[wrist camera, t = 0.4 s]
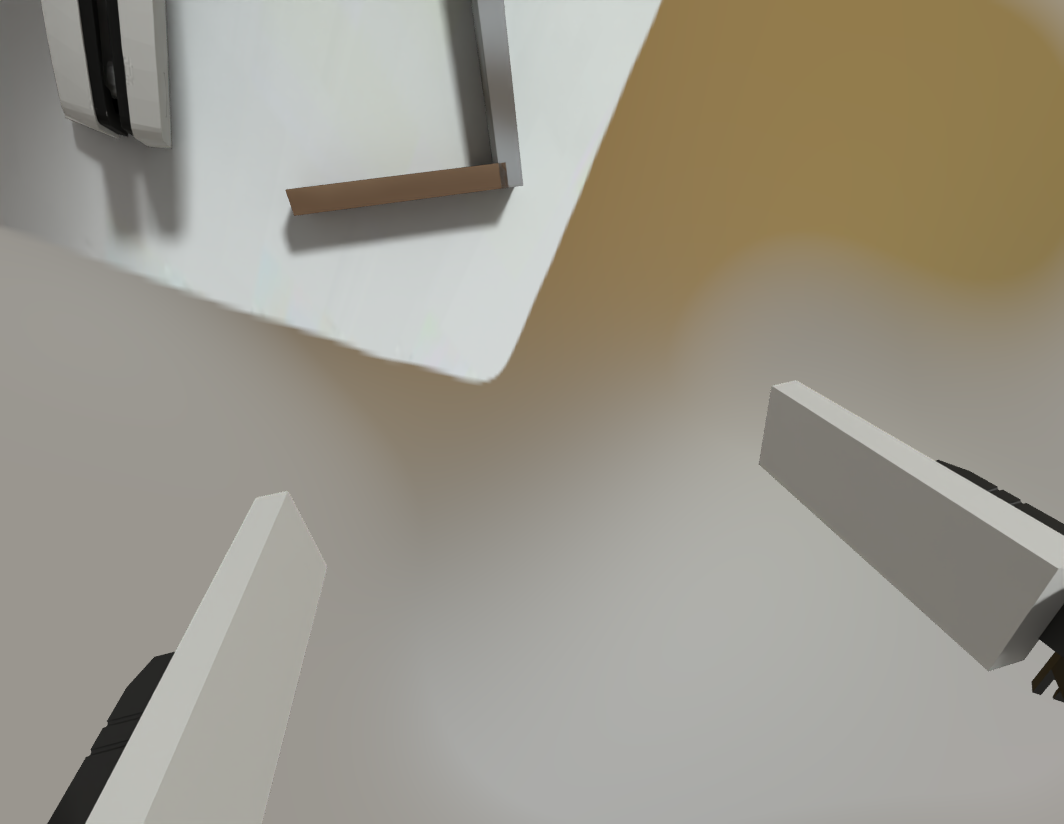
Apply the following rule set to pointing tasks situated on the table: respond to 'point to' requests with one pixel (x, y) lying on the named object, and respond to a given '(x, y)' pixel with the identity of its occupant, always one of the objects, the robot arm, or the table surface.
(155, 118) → the hinge
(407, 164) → the table surface
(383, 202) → the brown u-shaped frame
